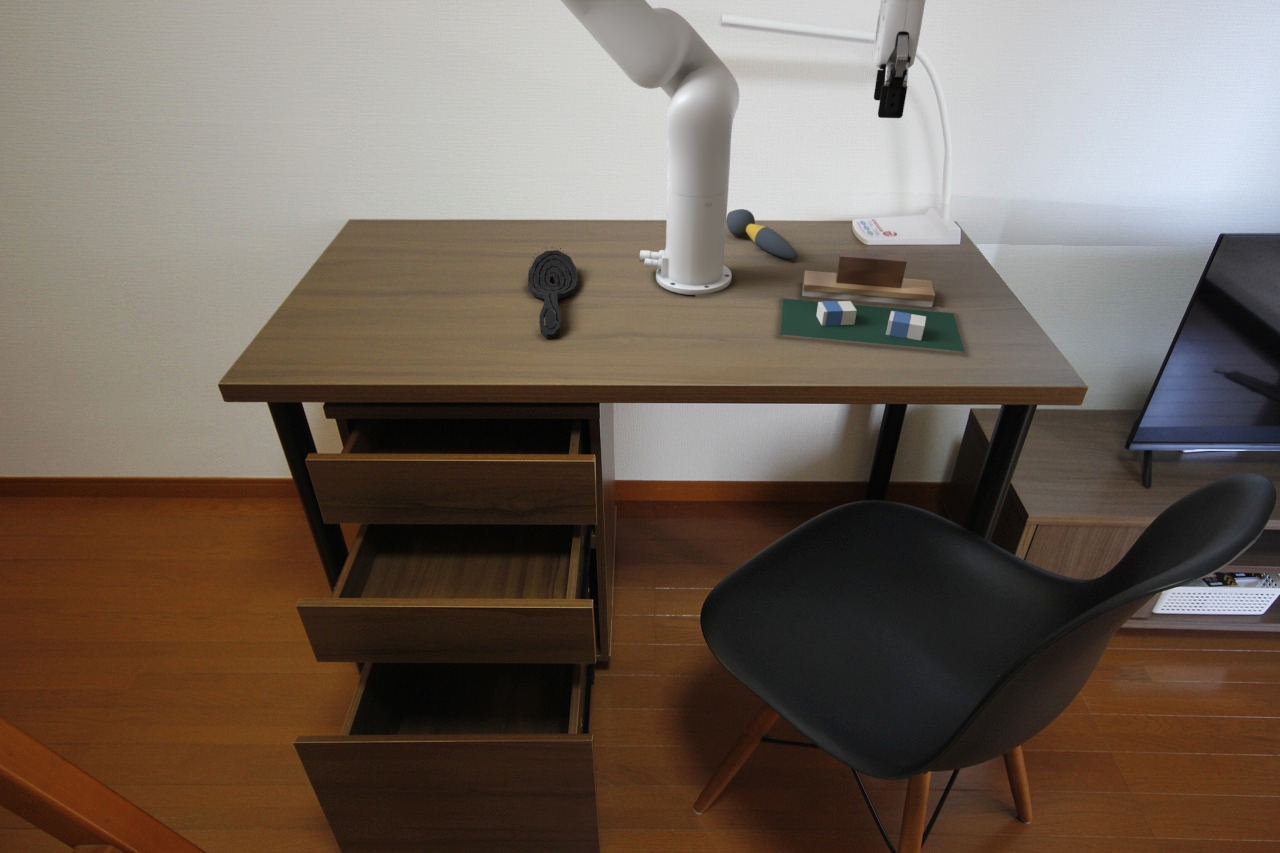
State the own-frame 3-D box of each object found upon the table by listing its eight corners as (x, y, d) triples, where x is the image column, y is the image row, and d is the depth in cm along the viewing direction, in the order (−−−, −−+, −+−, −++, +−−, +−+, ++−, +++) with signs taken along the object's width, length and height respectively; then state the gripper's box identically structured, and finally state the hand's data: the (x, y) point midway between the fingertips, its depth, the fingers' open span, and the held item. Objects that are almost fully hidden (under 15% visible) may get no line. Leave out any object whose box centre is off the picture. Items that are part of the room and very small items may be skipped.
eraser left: (821, 326, 117) (824, 311, 115) (815, 316, 119) (818, 301, 118) (854, 325, 117) (857, 310, 115) (847, 315, 119) (850, 300, 118)
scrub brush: (802, 298, 125) (807, 257, 121) (802, 284, 129) (808, 244, 125) (931, 309, 122) (942, 268, 118) (928, 294, 126) (937, 253, 122)
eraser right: (885, 335, 114) (888, 320, 113) (888, 325, 117) (891, 310, 115) (921, 341, 113) (924, 326, 112) (922, 331, 115) (926, 315, 114)
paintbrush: (809, 258, 137) (813, 231, 134) (790, 266, 135) (793, 238, 132) (732, 225, 150) (734, 199, 147) (713, 231, 148) (714, 205, 145)
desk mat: (779, 337, 115) (779, 334, 114) (782, 300, 124) (783, 298, 124) (964, 354, 111) (964, 351, 111) (952, 315, 120) (953, 313, 120)
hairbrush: (520, 323, 112) (528, 245, 131) (522, 344, 114) (529, 265, 134) (578, 321, 112) (577, 244, 132) (579, 343, 115) (578, 264, 134)
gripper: (875, -39, 107) (857, 93, 117) (883, -25, 93) (862, 124, 103) (932, -40, 106) (909, 94, 116) (949, -25, 92) (921, 125, 102)
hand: (887, 108), depth 109 cm, fingers open, 9 cm apart
